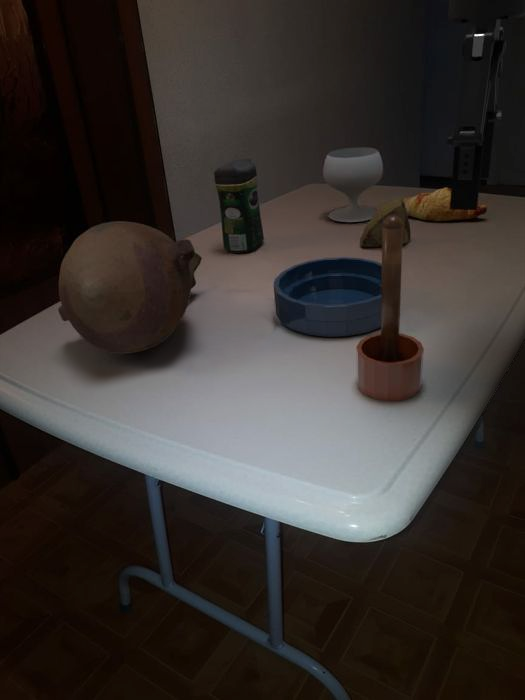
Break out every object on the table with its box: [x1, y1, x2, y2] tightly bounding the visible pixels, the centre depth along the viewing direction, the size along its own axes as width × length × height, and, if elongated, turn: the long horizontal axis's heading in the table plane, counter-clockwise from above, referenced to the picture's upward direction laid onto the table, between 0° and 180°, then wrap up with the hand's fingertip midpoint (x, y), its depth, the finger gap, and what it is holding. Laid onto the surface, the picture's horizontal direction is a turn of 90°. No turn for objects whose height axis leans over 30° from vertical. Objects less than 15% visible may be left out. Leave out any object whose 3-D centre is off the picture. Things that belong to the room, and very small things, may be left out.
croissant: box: [403, 186, 488, 222], centre depth 129 cm, size 21×10×8 cm, turn 58°
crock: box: [355, 332, 425, 402], centre depth 70 cm, size 8×8×6 cm
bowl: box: [273, 256, 382, 338], centre depth 90 cm, size 20×20×6 cm
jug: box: [57, 220, 203, 354], centre depth 89 cm, size 20×20×30 cm
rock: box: [359, 198, 412, 248], centre depth 117 cm, size 11×9×10 cm
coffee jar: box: [213, 158, 265, 254], centre depth 120 cm, size 10×8×19 cm
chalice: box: [322, 146, 384, 223], centre depth 133 cm, size 14×14×15 cm
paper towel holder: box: [380, 216, 403, 363], centre depth 66 cm, size 5×5×22 cm
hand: (470, 192), depth 65 cm, fingers open, 13 cm apart
